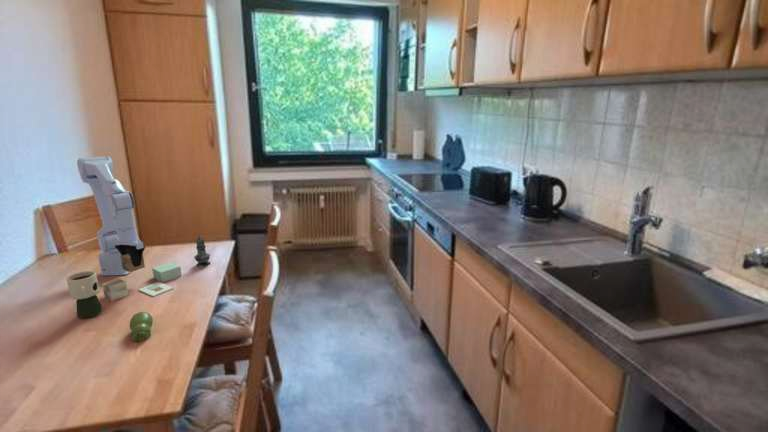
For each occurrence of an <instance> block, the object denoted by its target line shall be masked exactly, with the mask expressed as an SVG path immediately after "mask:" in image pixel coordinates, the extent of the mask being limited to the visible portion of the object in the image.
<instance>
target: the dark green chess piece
mask: <svg viewBox="0 0 768 432" xmlns="http://www.w3.org/2000/svg"><path fill="white" fill-rule="evenodd" d="M195 240H196V242H195V243H196V247H195V249H196V251H197V253H196V255H195V256H193V257H194V259H195V261H196V262H197V263H196V264H195V266H196V267H199V268H203V267H208V266H210V265H211V262H210V261H209V260H210V257H211V254H210V253H207V251H206V244H205V239H204V238H203V237H201V236H200V235H199V236H198V238H196V239H195Z"/></svg>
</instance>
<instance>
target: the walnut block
mask: <svg viewBox="0 0 768 432" xmlns="http://www.w3.org/2000/svg"><path fill="white" fill-rule="evenodd" d="M120 258H121V263H122V268H123V270H126V271H129V273H132V272H136V271H138V270H141V269H143V268H145V267H146V266H145V265H146V264H145V260H144V253H143V254H142V260H141V265H140V266H137V267H134V266H133V264H132V261H131V258H130V256H129V254H125V255H122V256H120Z"/></svg>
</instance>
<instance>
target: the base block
mask: <svg viewBox="0 0 768 432" xmlns="http://www.w3.org/2000/svg"><path fill="white" fill-rule="evenodd" d="M182 275H183V274H182V269H181V266H180V265H178V264H176V263H174V262H172V261H170V262H168V263H164V264H161V265H157V266H154V267H152V276H153V278H154V279H156V280H158V282H160V283H164V282H167V281H170V280H173V279H177V278H179V277H182Z"/></svg>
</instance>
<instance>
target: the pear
mask: <svg viewBox="0 0 768 432" xmlns="http://www.w3.org/2000/svg"><path fill="white" fill-rule="evenodd" d="M153 321H154V320H153V316H152V315H151V314H150V313H149V312H147V311H140V312H137V313H135V314H133V316H132V317H131V319H130V321H129V329H130V330H131V331H130V332H131V340H132V341H133V342H140V341H146V340H148V339H150V337H151V336H152V332H151V328H152V327H153V323H154V322H153Z"/></svg>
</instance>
